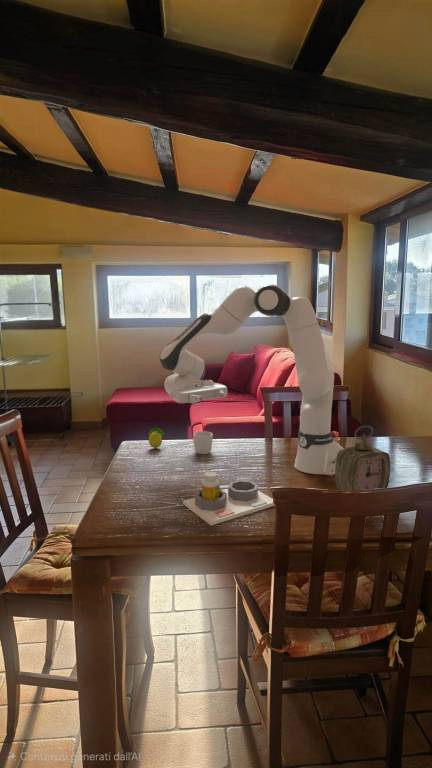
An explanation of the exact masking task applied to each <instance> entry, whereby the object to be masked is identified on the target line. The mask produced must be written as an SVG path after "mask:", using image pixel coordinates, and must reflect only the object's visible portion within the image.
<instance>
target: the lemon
mask: <svg viewBox="0 0 432 768" xmlns="http://www.w3.org/2000/svg"><path fill="white" fill-rule="evenodd" d="M148 436H149V437H148V444H149V446H150V447H152V448H154V449H155V450H156V449H158V448H160V446H161V445H162V442H163V438H162V436H164V431H163V430H162V429H161V428H157V427H156V428H153V429H150V430H149V432H148Z"/></svg>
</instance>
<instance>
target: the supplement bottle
mask: <svg viewBox="0 0 432 768" xmlns="http://www.w3.org/2000/svg"><path fill="white" fill-rule="evenodd" d="M220 487H221V485H220V480H219V479H218V473H217V472H215V471H206V472H204V473H203V480H202V482H201V490H202V498H203V499H208V500H215V499H218V498H220Z"/></svg>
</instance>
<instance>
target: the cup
mask: <svg viewBox="0 0 432 768" xmlns="http://www.w3.org/2000/svg"><path fill="white" fill-rule="evenodd" d="M192 437H193V444H194V445H193V447H194V451H195V453H196V454H198V455H209V454H210V453H211V452H212V447H213V445H212V444H213V437H214V434H213V432H210V431H206V430H201V431H196V432H194V433H193V436H192Z"/></svg>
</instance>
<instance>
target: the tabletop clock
mask: <svg viewBox="0 0 432 768" xmlns="http://www.w3.org/2000/svg"><path fill="white" fill-rule="evenodd" d="M362 429H370V431H371V433H370V435H368V436H366V434H362V436H361V437H359V436H357V433H358V431H360V430H362ZM373 435H374V429H373V427H372V426H370V425H362V426H360V427H358V428H357V429H356V430H355V432H354V437H355V438H356V439H357V441H356V442H355V444H354V445H353V446H350V447H345V448H344V449H342V450H340V451H339V452H338V454H337V458H336V466H335V474H334V475H335V476H334V480H335V484H336V488H337V490H338V491H339V490H362V489H374V488H387V487H389V483H390V476H391V457H390V453H389V452H386V451H383V450H381V449H379V448H376V447H374V446H372V443H371V442H370V441H369V440H368V439H370V438H371V437H372V436H373ZM387 489H388V488H387Z"/></svg>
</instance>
